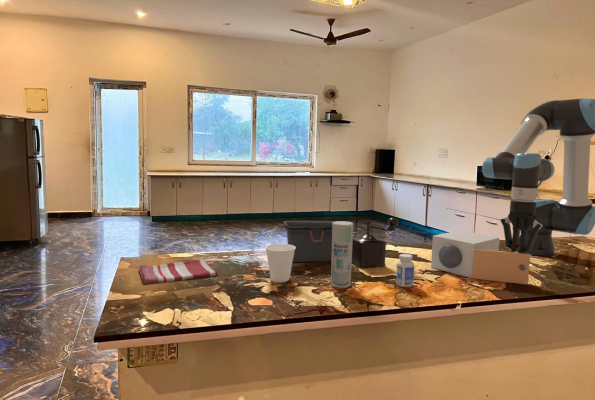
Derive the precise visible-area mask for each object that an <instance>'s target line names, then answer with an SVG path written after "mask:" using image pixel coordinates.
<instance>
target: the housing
mask: <svg viewBox="0 0 595 400" xmlns="http://www.w3.org/2000/svg"><path fill="white" fill-rule="evenodd" d="M431 243H432V245H431V246H432V247H431V261H430V262H431V264H430V267H431V268H432V269H437V270H439V271H444V272H447V273H451V274H454V275H457V276H458V275H459V276H462V277H465V278H470V279H473V278H472V264H473V251H474V249H481V250H493V251H500V237H499V236H491V235H486V234H481V233H477V232H470V231H464V230H455V231H450V232H446V233H440V234H435V235H432V242H431Z"/></svg>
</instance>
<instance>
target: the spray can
mask: <svg viewBox="0 0 595 400" xmlns="http://www.w3.org/2000/svg"><path fill="white" fill-rule="evenodd" d="M353 238H354V223H353V222H351V221H344V220H342V221H341V220H339V221H338V220H337V221H333V224H332V261H331V269H330V272H331V273H330V279H331V280H330V285H331V286H332V287H334V288H339V289H345V288H349V287H350V286H351V285H352V284H351V282H352V280H351V278H352V264H353V263H352V241H353Z"/></svg>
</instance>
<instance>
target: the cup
mask: <svg viewBox="0 0 595 400" xmlns="http://www.w3.org/2000/svg"><path fill="white" fill-rule="evenodd" d="M264 249H265V252H266V258H267V262H268V263H267V264H268V265H267V266H268V270H269V277H270V280H271V281H272V282H274V283H280V284H281V283H287V282H288V281H289V280H290V277H291V272H292V267H293V263H294V262H293V257H294V251H295V249H296V247H295V246H293V245H289V244H288V243H287V244H286V243H273V244H268V245H266V246H264Z"/></svg>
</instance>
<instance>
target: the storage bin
mask: <svg viewBox="0 0 595 400" xmlns="http://www.w3.org/2000/svg"><path fill="white" fill-rule="evenodd" d="M333 222H334V221H332V220H285V221H283V224H284V226H283V227H284V229H285V230H286V234H287V235H286V236H287V244H289V245H293V246H295V247H296V249H295V251H294V257H293V262H292V263H300V262H301V263H302V262H303V263H305V262H332V224H333Z"/></svg>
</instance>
